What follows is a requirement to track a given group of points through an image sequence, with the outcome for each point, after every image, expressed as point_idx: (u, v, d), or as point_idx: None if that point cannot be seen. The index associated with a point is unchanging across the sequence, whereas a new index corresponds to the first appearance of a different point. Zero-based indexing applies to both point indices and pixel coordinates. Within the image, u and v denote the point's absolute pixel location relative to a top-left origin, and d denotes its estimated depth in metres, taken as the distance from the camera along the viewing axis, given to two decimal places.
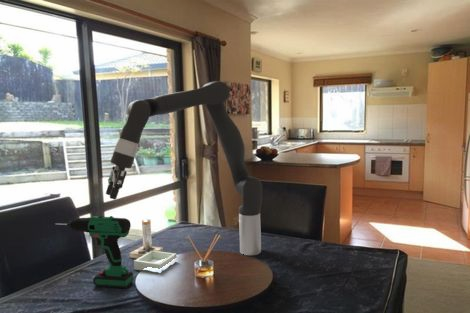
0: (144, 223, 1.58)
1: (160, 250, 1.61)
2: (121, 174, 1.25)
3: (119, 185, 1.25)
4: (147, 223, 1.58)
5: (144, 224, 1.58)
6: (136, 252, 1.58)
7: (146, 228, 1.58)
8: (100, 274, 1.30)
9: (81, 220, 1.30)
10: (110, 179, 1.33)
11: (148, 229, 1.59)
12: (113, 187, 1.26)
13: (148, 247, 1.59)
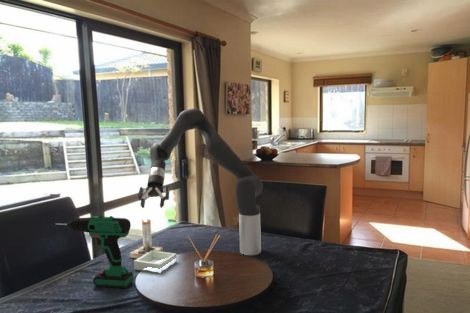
0: (144, 223, 1.58)
1: (160, 250, 1.61)
2: None
3: None
4: (147, 223, 1.58)
5: (144, 224, 1.58)
6: (136, 252, 1.58)
7: (146, 228, 1.58)
8: (100, 274, 1.30)
9: (81, 220, 1.30)
10: None
11: (148, 229, 1.59)
12: None
13: (148, 247, 1.59)
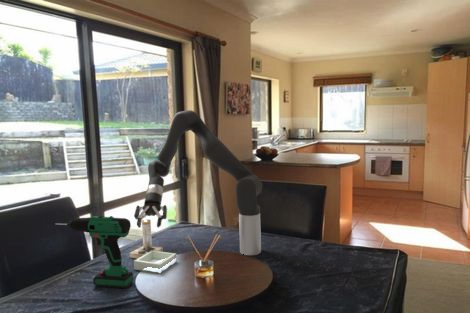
0: (144, 223, 1.58)
1: (160, 250, 1.61)
2: None
3: None
4: (147, 223, 1.58)
5: (144, 224, 1.58)
6: (136, 252, 1.58)
7: (146, 228, 1.58)
8: (100, 274, 1.30)
9: (81, 220, 1.30)
10: None
11: (148, 229, 1.59)
12: None
13: (148, 247, 1.59)
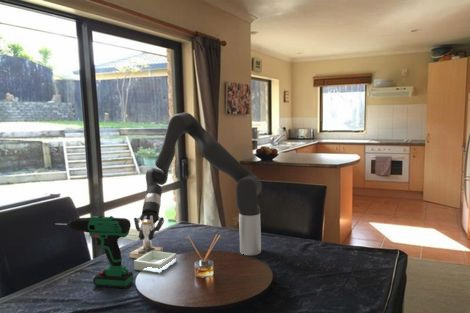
0: (144, 223, 1.58)
1: (160, 250, 1.61)
2: (135, 222, 1.64)
3: None
4: (147, 223, 1.58)
5: (144, 224, 1.58)
6: (136, 252, 1.58)
7: (146, 228, 1.58)
8: (100, 274, 1.30)
9: (81, 220, 1.30)
10: None
11: (148, 229, 1.59)
12: None
13: (148, 247, 1.59)
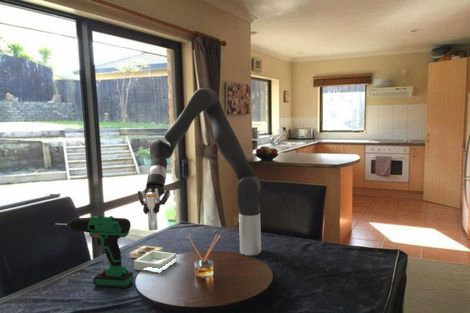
0: (148, 195, 1.47)
1: (160, 250, 1.61)
2: None
3: None
4: (152, 195, 1.47)
5: (148, 196, 1.47)
6: (136, 252, 1.58)
7: (151, 201, 1.47)
8: (100, 274, 1.30)
9: (81, 220, 1.30)
10: None
11: (153, 202, 1.47)
12: None
13: (153, 221, 1.48)
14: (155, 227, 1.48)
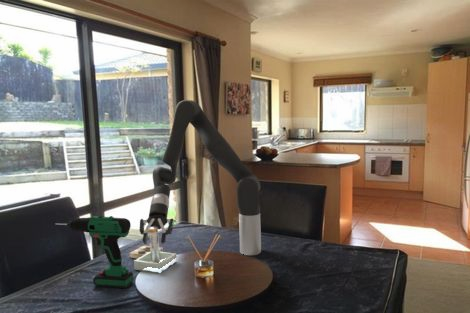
0: (151, 231, 1.44)
1: (160, 250, 1.61)
2: None
3: None
4: (154, 231, 1.45)
5: (151, 232, 1.44)
6: (136, 252, 1.58)
7: (153, 236, 1.45)
8: (100, 274, 1.30)
9: (81, 220, 1.30)
10: None
11: (155, 237, 1.45)
12: None
13: (156, 256, 1.46)
14: (158, 262, 1.46)
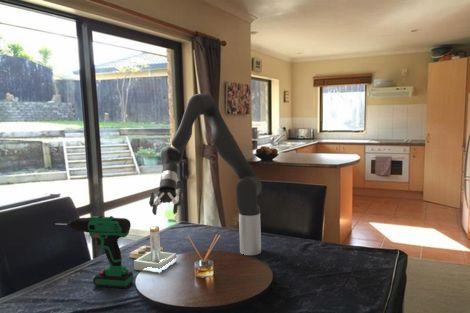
0: (152, 230, 1.45)
1: (160, 250, 1.61)
2: None
3: None
4: (155, 230, 1.45)
5: (152, 232, 1.45)
6: (136, 252, 1.58)
7: (154, 236, 1.45)
8: (100, 274, 1.30)
9: (81, 220, 1.30)
10: (173, 203, 1.61)
11: (156, 237, 1.45)
12: None
13: (156, 256, 1.46)
14: (158, 262, 1.46)
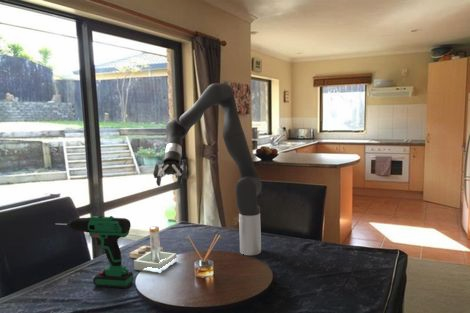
0: (152, 231, 1.45)
1: (160, 250, 1.61)
2: None
3: None
4: (155, 231, 1.45)
5: (152, 232, 1.45)
6: (136, 252, 1.58)
7: (154, 236, 1.45)
8: (100, 274, 1.30)
9: (81, 220, 1.30)
10: (177, 175, 1.61)
11: (156, 237, 1.45)
12: None
13: (156, 257, 1.46)
14: (158, 262, 1.46)
